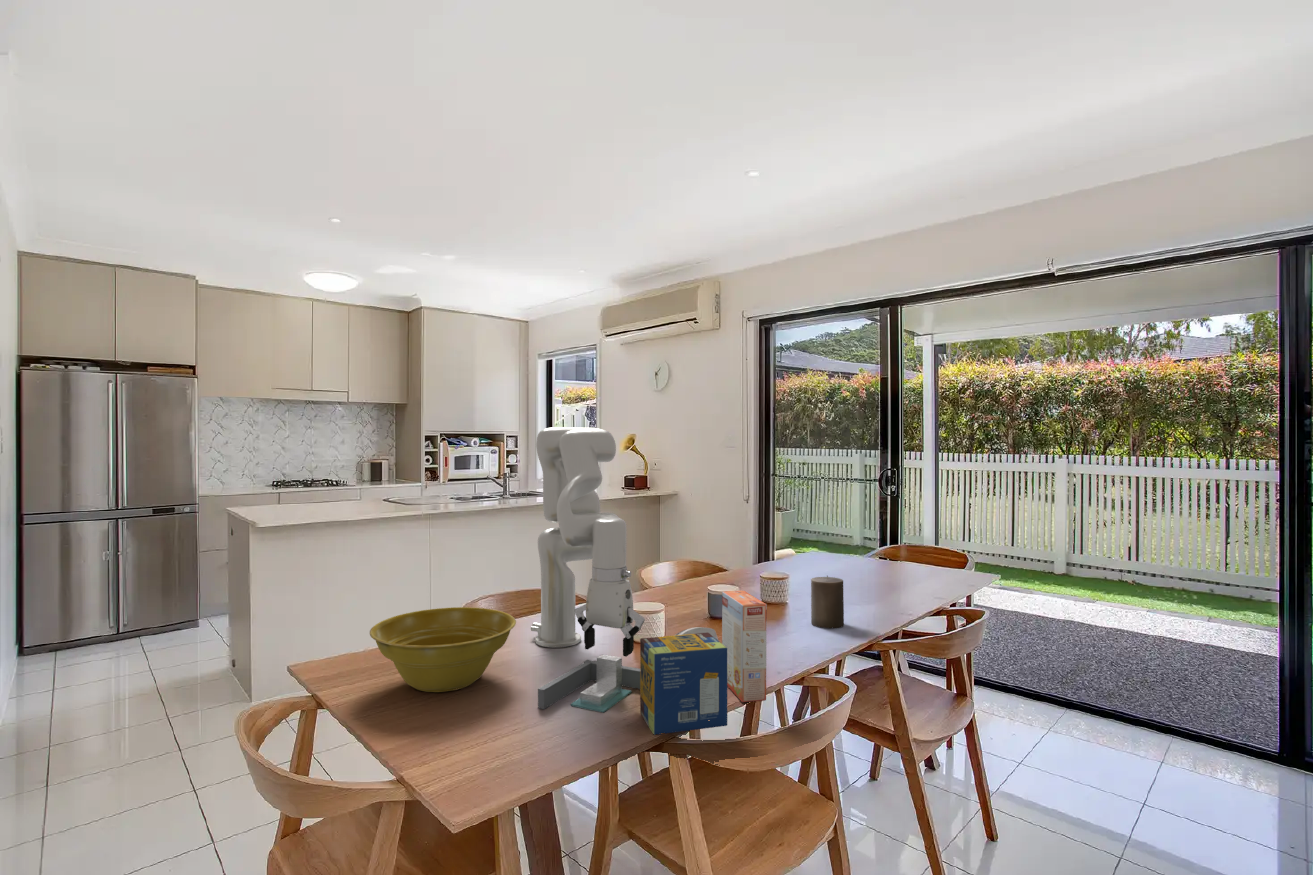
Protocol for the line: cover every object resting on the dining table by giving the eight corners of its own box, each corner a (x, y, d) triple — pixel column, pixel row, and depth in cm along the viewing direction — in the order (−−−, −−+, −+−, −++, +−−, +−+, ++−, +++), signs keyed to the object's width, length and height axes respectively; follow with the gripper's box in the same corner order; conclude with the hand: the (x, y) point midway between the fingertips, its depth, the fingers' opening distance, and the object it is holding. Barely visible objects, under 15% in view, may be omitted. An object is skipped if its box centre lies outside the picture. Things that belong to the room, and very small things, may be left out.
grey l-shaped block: (602, 687, 146) (602, 654, 146) (621, 691, 143) (621, 657, 143) (580, 702, 137) (580, 666, 138) (600, 706, 135) (600, 670, 135)
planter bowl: (544, 672, 156) (544, 616, 157) (437, 722, 129) (437, 654, 129) (450, 651, 173) (450, 600, 173) (338, 691, 145) (338, 630, 145)
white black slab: (682, 676, 154) (672, 633, 156) (669, 678, 157) (659, 636, 159) (728, 660, 165) (718, 620, 168) (715, 662, 168) (705, 623, 171)
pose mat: (570, 705, 137) (570, 703, 137) (600, 686, 147) (600, 684, 147) (603, 712, 133) (603, 710, 133) (631, 692, 144) (631, 690, 144)
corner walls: (536, 707, 136) (536, 688, 136) (587, 676, 154) (587, 659, 154) (613, 724, 128) (613, 703, 128) (657, 689, 146) (657, 671, 146)
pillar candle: (847, 629, 193) (847, 578, 193) (814, 628, 193) (814, 578, 194) (838, 620, 203) (838, 572, 203) (807, 620, 203) (807, 572, 203)
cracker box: (768, 701, 139) (768, 603, 139) (741, 703, 138) (741, 604, 138) (745, 678, 153) (745, 589, 153) (721, 680, 151) (720, 590, 152)
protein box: (639, 713, 133) (639, 637, 133) (710, 705, 137) (709, 631, 137) (653, 736, 123) (652, 653, 123) (729, 726, 127) (728, 646, 127)
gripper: (651, 574, 143) (651, 652, 143) (585, 566, 151) (584, 640, 151) (635, 582, 136) (635, 663, 137) (566, 573, 144) (566, 650, 144)
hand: (608, 651), depth 144 cm, fingers open, 9 cm apart
